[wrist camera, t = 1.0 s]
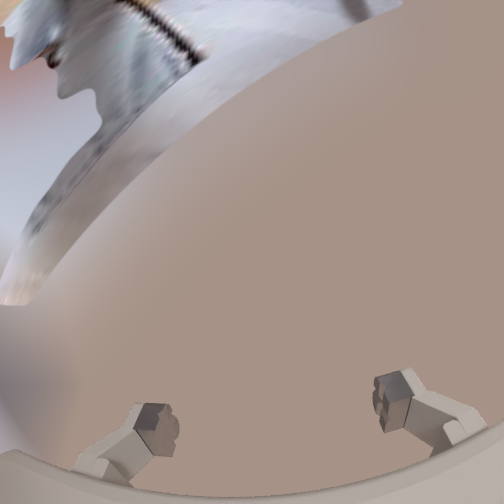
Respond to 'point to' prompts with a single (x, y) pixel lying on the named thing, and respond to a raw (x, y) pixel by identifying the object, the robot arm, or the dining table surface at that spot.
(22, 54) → the dining table surface
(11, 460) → the robot arm
